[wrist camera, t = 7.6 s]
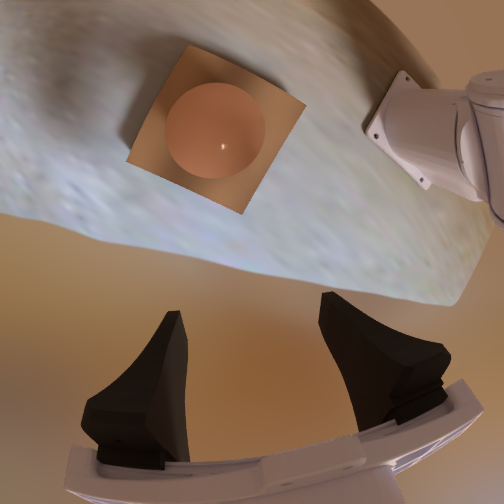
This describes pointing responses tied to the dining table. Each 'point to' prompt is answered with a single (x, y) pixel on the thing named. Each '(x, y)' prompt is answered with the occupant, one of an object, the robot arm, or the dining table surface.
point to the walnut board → (203, 72)
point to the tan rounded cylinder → (215, 130)
